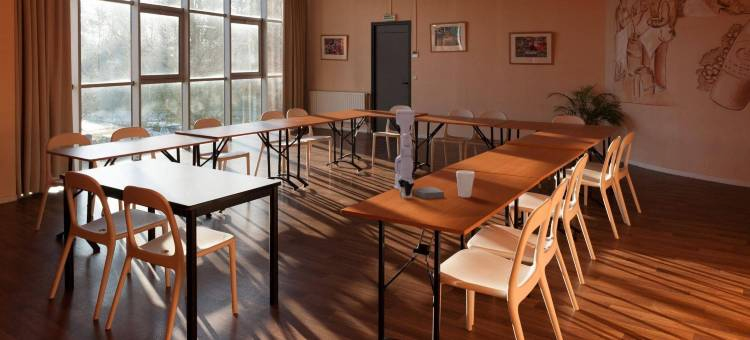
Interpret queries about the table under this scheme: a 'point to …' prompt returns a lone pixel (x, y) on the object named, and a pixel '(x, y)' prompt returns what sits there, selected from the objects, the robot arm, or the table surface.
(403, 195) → the cream cube
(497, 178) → the table surface
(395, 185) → the robot arm
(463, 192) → the foam cup
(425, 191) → the charcoal plinth
